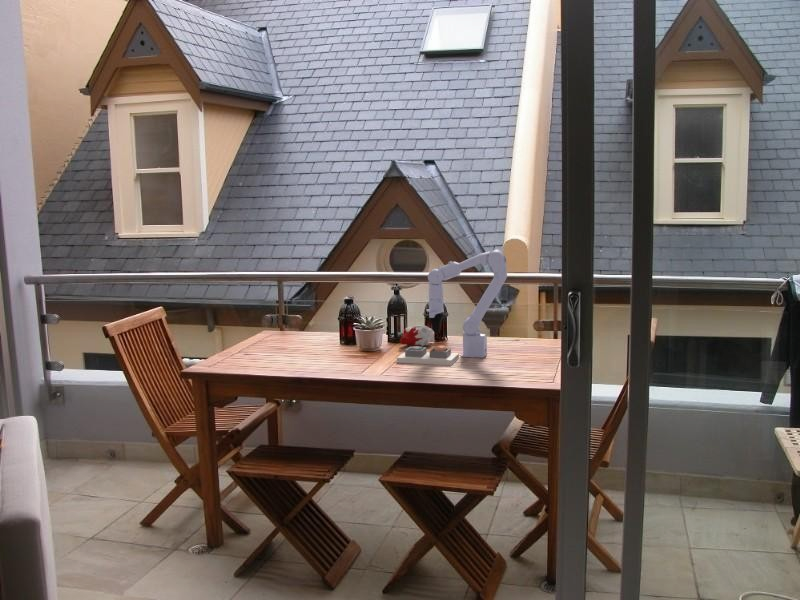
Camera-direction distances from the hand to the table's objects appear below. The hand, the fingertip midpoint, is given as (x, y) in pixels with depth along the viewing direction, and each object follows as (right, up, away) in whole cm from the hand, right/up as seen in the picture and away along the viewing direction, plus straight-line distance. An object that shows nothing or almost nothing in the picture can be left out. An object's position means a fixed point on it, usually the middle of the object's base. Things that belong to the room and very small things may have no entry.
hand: (436, 332), depth 323 cm
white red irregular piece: (-9, -7, +19) cm, 22 cm away
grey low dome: (-9, -8, -6) cm, 14 cm away
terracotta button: (+1, -8, -10) cm, 12 cm away
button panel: (-4, -11, -8) cm, 14 cm away
